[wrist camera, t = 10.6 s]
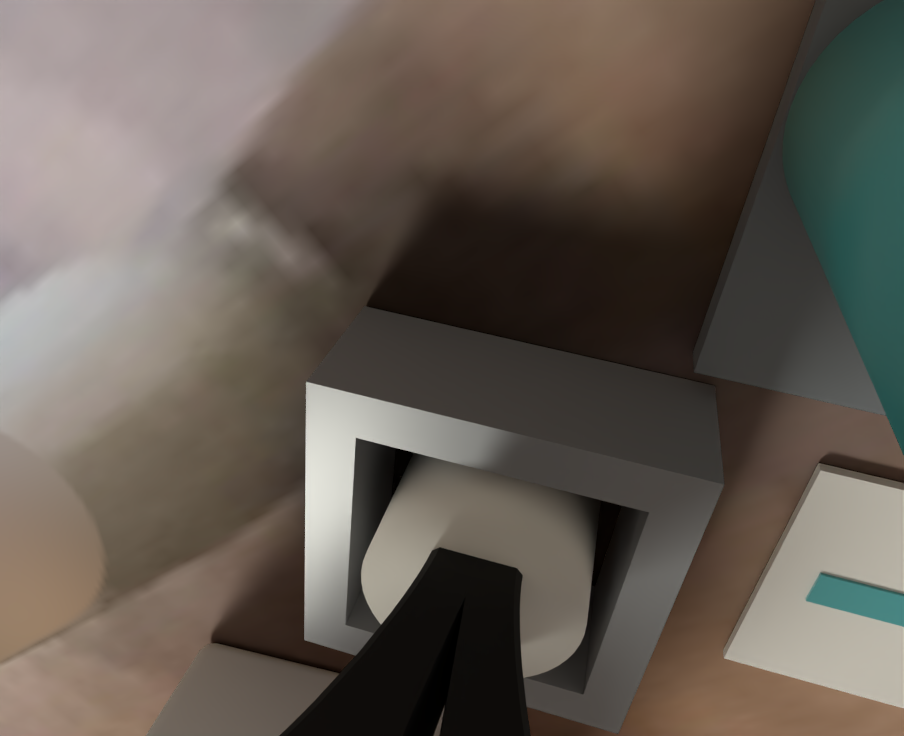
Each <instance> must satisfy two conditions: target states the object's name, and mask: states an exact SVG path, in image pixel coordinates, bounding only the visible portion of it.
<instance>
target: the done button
mask: <svg viewBox="0 0 904 736" xmlns="http://www.w3.org/2000/svg"><path fill="white" fill-rule="evenodd" d="M599 514H600V500H598V499H594V498H590V497H586V496H583V495H579V494H575V493H571V492H567V491H563V490H559V489H555V488H551V487H547V486H543V485H539V484H535V483H531V482H528V481H524V480H520V479H516V478H512V477H508V476H504V475H500V474H496V473H492V472H488V471H484V470H480V469H476V468H473V467H469V466H465V465H461V464H457V463H453V462H449V461H445V460H441V459H437V458H433V457H429V456H425V455H422V454H418V453H413V455H412V457H411V459H410V461H409V463H408V465H407V467H406V470H405V472H404V474H403V476H402V478H401V480H400V482H399V484H398V486H397V489H396V491H395V493H394V495H393V497H392V499H391V501H390V503H389V506H388V508H387V510H386V512H385V514H384V516H383V518H382V520H381V523H380V525H379V527H378V529H377V531H376V533H375V535H374V537H373V539H372V542H371V544H370V546H369V548H368V550H367V552H366V555H365V557H364V560H363V564H362V570H361V583H362V588H363V593H364V596H365V598H366V601H367V603H368V605H369V607H370V609H371V611H372V613H373V614H374V616H375V617H376V619H377V620H378V622H379V623H380V624H382V623H383V622H384V621H385V619H386V618H387V617H388V616H389V614H390V613H391V612H392V610H393V609H394V608H395V606H396V605H397V604H398V602H399V601H400V600H401V598H402V597H403V595H404V594H405V593H406V591H407V590H408V588H409V587H410V586H411V584H412V583H413V581H414V580H415V578H416V577H417V575H418V574H419V572H420V570H421V569H422V567H423V566H424V564H425V562H426V561H427V559H428V557H429V555H430V553H431V551H432V550H434V549H437V548H439V547H441V548H445V549H448V550H452V551H456V552H459V553H463V554H467V555H470V556H474V557H478V558H481V559H485V560H489V561H493V562H496V563H500V564H504V565H507V566H511V567H515V568H517V569H518V570H519V571H520V572H521V574H522V575H523V578H522V585H521V597H520V639H521V657H522V670H523V678H525V677H530V676H534V675H538V674H541V673H544V672H547V671H549V670H551V669H553V668H555V667H557V666H559V665H560V664H562V663H563V662H564V661H566V660H567V659H568V658H569V657H570V656H571V655H572V654H573V653H574V652H575V651H576V649H577V648H578V647H579V645H580V644H581V641H582V639H583V637H584V635H585V630H586V626H587V618H588V610H589V601H590V592H591V584H592V575H593V566H594V557H595V549H596V540H597V531H598V522H599Z"/></svg>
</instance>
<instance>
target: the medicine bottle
mask: <svg viewBox="0 0 904 736" xmlns="http://www.w3.org/2000/svg"><path fill="white" fill-rule="evenodd" d="M339 674H340V673H336V672H332V671H328V670H324V669H320V668H316V667H312V666H308V665H304V664H300V663H295V662H291V661H287V660H283V659H279V658H275V657H271V656H267V655H263V654H259V653H255V652H251V651H246V650H242V649H238V648H234V647H230V646H226V645H222V644H218V643H212V644H208V645H206V646H204V647H203V648H202V649H201V650H200V651H199V653H198V654H197V656H196V657H195V659H194V661H193V662H192V664H191V665H190V667H189V668H188V670H187V672H186V673H185V675H184V676H183V678H182V679H181V681H180V683H179V684H178V686H177V687H176V689H175V690H174V692H173V694H172V695H171V697H170V698H169V700H168V702H167V703H166V705H165V706H164V708H163V709H162V711H161V713H160V714H159V716H158V717H157V719H156V720H155V722H154V724H153V725H152V727H151V728H150V730H149V731H148V733H147V735H146V736H279V735H280V734H281V733H282V732H284V731H285V730H286V729H287V728H288V727H289V726H290V725H291V724H292V723H293V722H294V721H295V720H296V719H297V718H298V717H299V716H300V715H301V714H302V713H303V712H304V711H305V710H306V709H307V708H308V707H309V706H310V705H311V704H312V703H313V702H314V701H315V700H316V699H317V698H318V696H319V695H320V694H321V693H322V692H323V691H324V690H325V689H326V688H327V687H328V686H329V684H330V683H331V682H332V681H333V680H334V679H335V678H336V677H337V676H338V675H339ZM444 707H445V706H444ZM443 713H444V709H443V711H442V714H441V717H440V720H439V722H438V725H437V728H436V730H435V733H434V736H439V735H440V729H441V724H442V718H443Z"/></svg>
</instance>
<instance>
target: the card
mask: <svg viewBox="0 0 904 736" xmlns="http://www.w3.org/2000/svg"><path fill="white" fill-rule="evenodd" d="M723 654H724V658H725V659H728V660H732V661H736V662H739V663H743V664H746V665H750V666H753V667H757V668H761V669H764V670H768V671H771V672H775V673H779V674H782V675H786V676H789V677H793V678H797V679H800V680H804V681H807V682H811V683H814V684H818V685H822V686H825V687H829V688H832V689H836V690H840V691H843V692H847V693H850V694H854V695H858V696H861V697H865V698H868V699H872V700H875V701H879V702H883V703H886V704H890V705H893V706H897V707H901V708H904V483H901V482H897V481H893V480H889V479H884V478H880V477H876V476H872V475H867V474H863V473H859V472H855V471H851V470H846V469H842V468H838V467H834V466H830V465H825V464H821V463H818V465H817V467H816V469H815V471H814V473H813V475H812V477H811V479H810V481H809V483H808V484H807V486H806V488H805V490H804V492H803V494H802V496H801V498H800V500H799V502H798V504H797V506H796V508H795V510H794V512H793V514H792V516H791V518H790V520H789V522H788V524H787V526H786V528H785V530H784V532H783V534H782V536H781V537H780V539H779V541H778V543H777V545H776V547H775V549H774V551H773V553H772V555H771V557H770V559H769V561H768V563H767V565H766V567H765V569H764V571H763V573H762V575H761V577H760V579H759V581H758V583H757V585H756V587H755V589H754V591H753V592H752V594H751V596H750V598H749V600H748V602H747V604H746V606H745V608H744V610H743V612H742V614H741V616H740V618H739V620H738V622H737V624H736V626H735V628H734V630H733V632H732V634H731V636H730V638H729V640H728V642H727V644H726V645H725V647H724V649H723Z"/></svg>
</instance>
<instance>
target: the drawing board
mask: <svg viewBox="0 0 904 736" xmlns="http://www.w3.org/2000/svg"><path fill="white" fill-rule="evenodd" d="M882 1H884V0H816V1H815V4H814V7H813V10H812V12H811V15H810V18H809V21H808V24H807V27H806V30H805V33H804V35H803V38H802V41H801V44H800V47H799V50H798V53H797V55H796V58H795V61H794V64H793V67H792V70H791V73H790V76H789V78H788V81H787V84H786V87H785V90H784V93H783V96H782V98H781V101H780V104H779V107H778V110H777V113H776V116H775V119H774V121H773V124H772V127H771V130H770V133H769V136H768V139H767V141H766V144H765V147H764V150H763V153H762V156H761V159H760V162H759V164H758V167H757V170H756V173H755V176H754V179H753V182H752V184H751V187H750V190H749V193H748V196H747V199H746V202H745V205H744V207H743V210H742V213H741V216H740V219H739V222H738V225H737V227H736V230H735V233H734V236H733V239H732V242H731V245H730V248H729V250H728V253H727V256H726V259H725V262H724V265H723V268H722V270H721V273H720V276H719V279H718V282H717V285H716V288H715V291H714V293H713V296H712V299H711V302H710V305H709V308H708V311H707V313H706V316H705V319H704V322H703V325H702V328H701V331H700V334H699V336H698V339H697V342H696V345H695V348H694V351H693V368H694V373H699V374H703V375H708V376H712V377H716V378H721V379H725V380H730V381H734V382H739V383H743V384H747V385H752V386H756V387H761V388H765V389H770V390H774V391H778V392H783V393H787V394H792V395H796V396H801V397H805V398H810V399H814V400H818V401H823V402H827V403H832V404H836V405H841V406H845V407H849V408H854V409H858V410H863V411H867V412H872V413H876V414H880V415H885V416H886V413H885V411H884V409H883V406H882V404H881V402H880V399H879V397H878V395H877V393H876V390H875V388H874V386H873V383H872V381H871V379H870V376H869V374H868V372H867V370H866V367H865V365H864V363H863V360H862V358H861V356H860V354H859V351H858V349H857V347H856V344H855V342H854V340H853V337H852V335H851V333H850V331H849V328H848V326H847V324H846V321H845V319H844V317H843V315H842V312H841V310H840V308H839V305H838V303H837V301H836V298H835V296H834V294H833V292H832V289H831V287H830V285H829V282H828V280H827V278H826V275H825V273H824V271H823V269H822V266H821V264H820V262H819V259H818V257H817V255H816V253H815V250H814V248H813V246H812V243H811V241H810V239H809V236H808V234H807V232H806V230H805V227H804V225H803V223H802V220H801V218H800V216H799V214H798V211H797V209H796V207H795V204H794V202H793V200H792V197H791V195H790V193H789V190H788V186H787V183H786V179H785V175H784V168H783V137H784V131H785V124H786V121H787V118H788V114H789V111H790V107H791V105H792V102H793V100H794V98H795V95H796V93H797V91H798V88H799V86H800V85H801V83H802V81H803V79H804V78H805V76H806V74H807V73H808V71H809V69H810V68H811V66H812V65H813V64H814V62H815V61H816V60H817V58H818V57H819V56H820V54H821V53H822V52H823V50H824V49H825V48H826V47H827V46H828V45H829V44H830V43H831V42H832V41H833V40H834V38H835V37H836V36H837V35H838V34H839V33H841V32H842V31H843V30H844V29H845V28H846V27H847V26H848V25H850V24H851V23H852V22H853V21H854V20H855V19H857V18H858V17H859V16H861V15H862V14H864V13H865V12H866V11H868V10H869V9H871V8H872V7H873V6H875V5H877V4H878V3H880V2H882Z"/></svg>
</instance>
